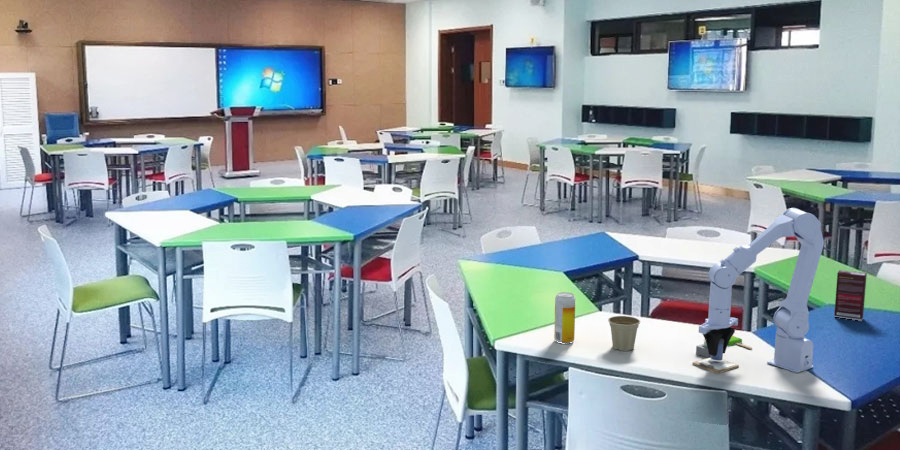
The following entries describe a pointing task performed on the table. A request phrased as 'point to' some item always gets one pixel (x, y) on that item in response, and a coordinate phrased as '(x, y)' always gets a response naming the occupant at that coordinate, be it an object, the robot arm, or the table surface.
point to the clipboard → (715, 365)
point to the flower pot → (623, 332)
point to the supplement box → (850, 295)
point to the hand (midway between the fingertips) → (716, 353)
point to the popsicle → (737, 342)
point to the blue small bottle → (719, 350)
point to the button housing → (702, 351)
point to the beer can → (564, 317)
